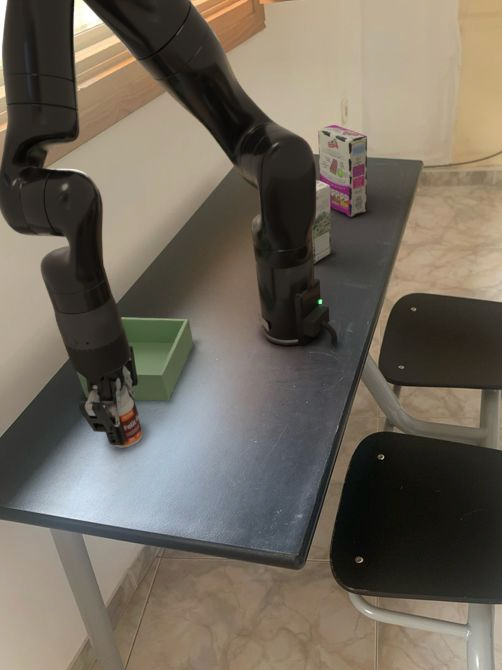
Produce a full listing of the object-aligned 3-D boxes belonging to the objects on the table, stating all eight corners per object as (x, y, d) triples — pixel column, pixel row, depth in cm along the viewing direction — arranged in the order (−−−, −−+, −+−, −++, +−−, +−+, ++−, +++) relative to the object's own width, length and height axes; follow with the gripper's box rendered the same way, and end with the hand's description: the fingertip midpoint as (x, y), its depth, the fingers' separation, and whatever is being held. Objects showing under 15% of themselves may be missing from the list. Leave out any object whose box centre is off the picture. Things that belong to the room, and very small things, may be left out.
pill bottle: (135, 450, 93) (120, 404, 87) (104, 446, 94) (87, 401, 88) (148, 427, 96) (135, 382, 91) (118, 424, 97) (103, 379, 91)
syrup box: (310, 246, 136) (306, 176, 126) (332, 254, 133) (330, 183, 124) (292, 257, 133) (286, 186, 123) (314, 265, 130) (310, 193, 120)
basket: (193, 343, 112) (188, 318, 108) (168, 400, 101) (162, 375, 97) (118, 341, 113) (111, 317, 110) (86, 397, 102) (76, 372, 99)
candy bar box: (368, 211, 147) (368, 135, 136) (350, 218, 145) (349, 141, 134) (336, 196, 154) (334, 123, 143) (319, 202, 152) (316, 128, 141)
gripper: (100, 365, 77) (134, 467, 88) (139, 300, 87) (164, 399, 99) (39, 363, 78) (80, 465, 89) (85, 299, 88) (116, 397, 100)
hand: (124, 430), depth 94 cm, fingers closed on pill bottle, 4 cm apart
